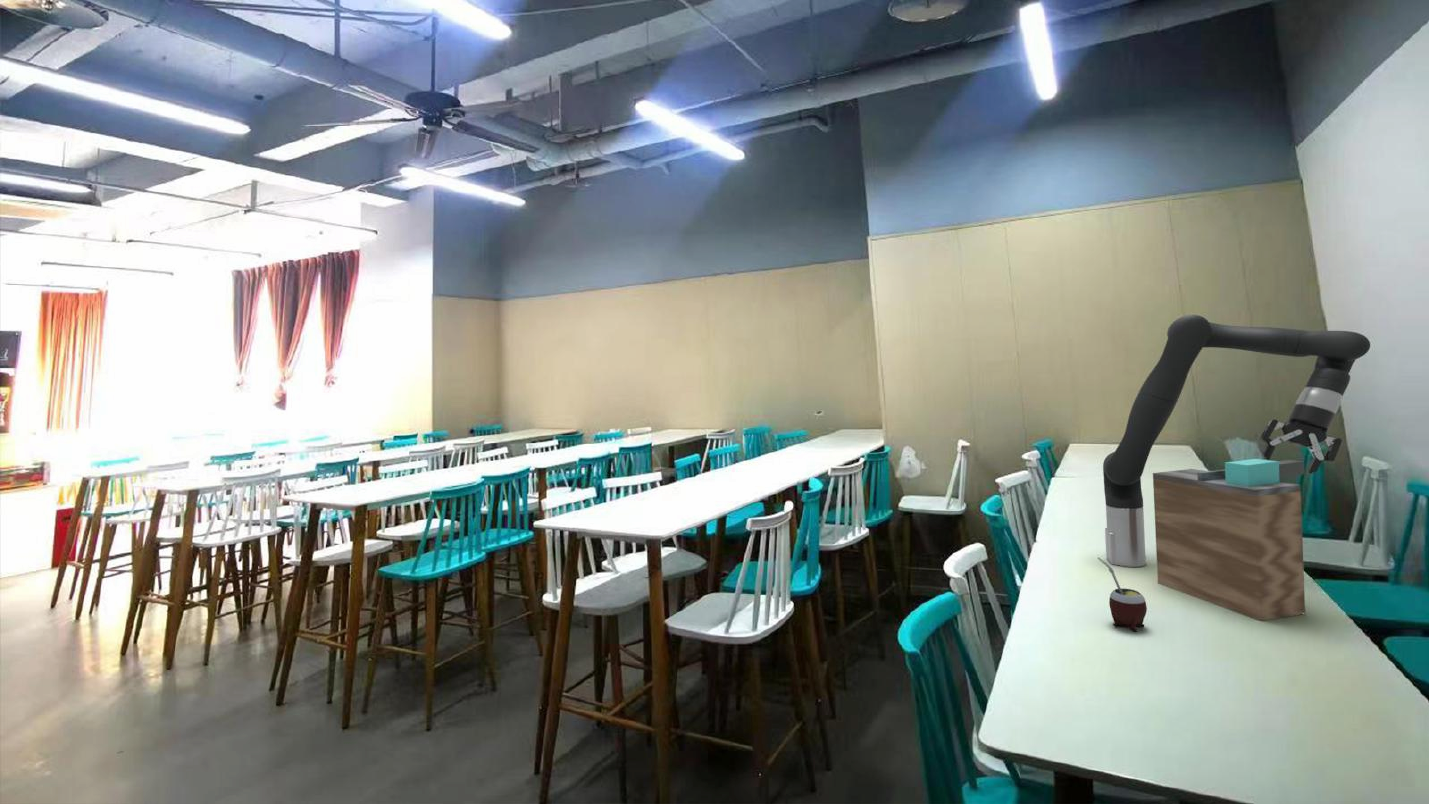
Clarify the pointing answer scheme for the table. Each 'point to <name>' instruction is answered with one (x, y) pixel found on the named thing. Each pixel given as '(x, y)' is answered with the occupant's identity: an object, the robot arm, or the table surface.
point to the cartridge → (1260, 471)
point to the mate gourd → (1126, 606)
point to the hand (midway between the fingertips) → (1287, 466)
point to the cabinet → (1230, 542)
